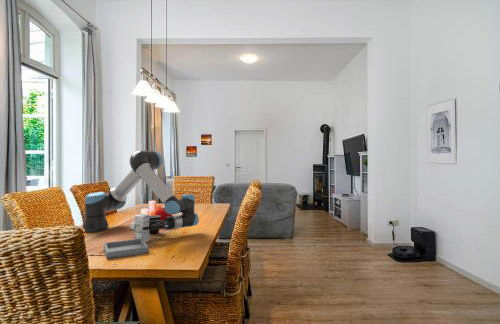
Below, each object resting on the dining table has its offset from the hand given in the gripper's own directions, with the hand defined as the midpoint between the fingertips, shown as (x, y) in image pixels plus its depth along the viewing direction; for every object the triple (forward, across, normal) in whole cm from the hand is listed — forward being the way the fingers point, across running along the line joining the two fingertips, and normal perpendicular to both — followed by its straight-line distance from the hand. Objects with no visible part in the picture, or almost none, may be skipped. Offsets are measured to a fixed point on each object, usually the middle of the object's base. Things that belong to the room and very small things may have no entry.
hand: (133, 227), depth 163 cm
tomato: (-28, +29, -8) cm, 41 cm away
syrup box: (-5, 0, -8) cm, 9 cm away
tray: (+8, -13, -8) cm, 17 cm away
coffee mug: (-15, +16, -8) cm, 23 cm away
